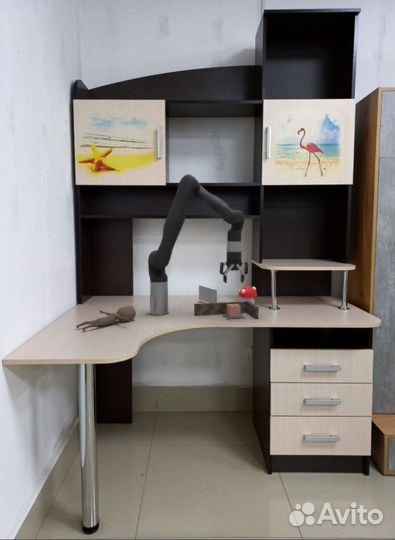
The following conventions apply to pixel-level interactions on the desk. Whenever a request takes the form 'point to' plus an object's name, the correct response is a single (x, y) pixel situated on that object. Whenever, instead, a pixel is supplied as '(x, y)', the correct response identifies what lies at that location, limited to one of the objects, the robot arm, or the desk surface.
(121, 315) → the toy
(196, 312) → the brown wooden corner barrier
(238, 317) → the pad
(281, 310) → the desk surface
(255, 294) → the mushroom
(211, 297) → the sign holder
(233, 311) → the block
